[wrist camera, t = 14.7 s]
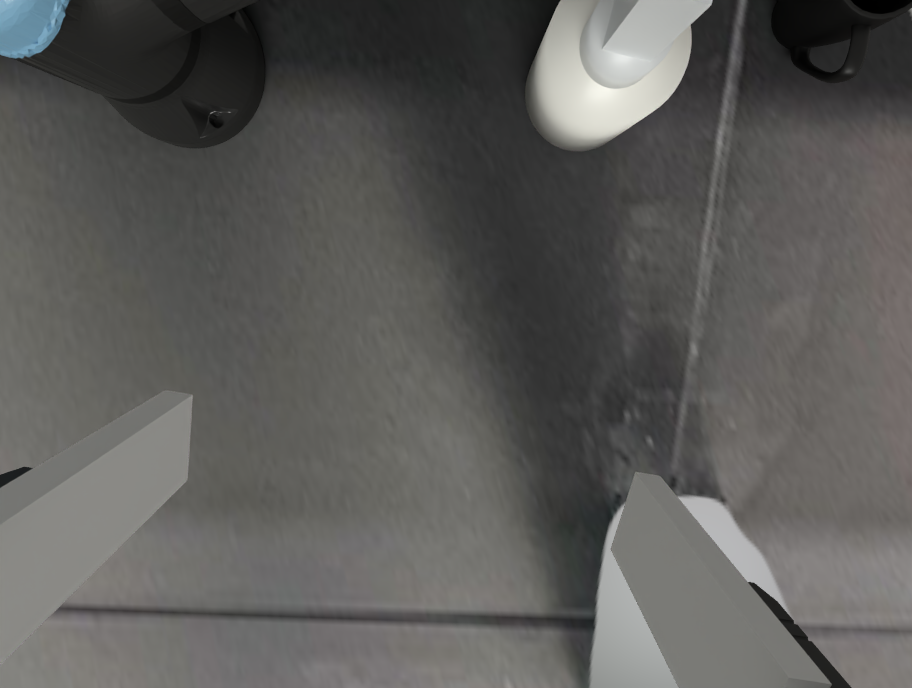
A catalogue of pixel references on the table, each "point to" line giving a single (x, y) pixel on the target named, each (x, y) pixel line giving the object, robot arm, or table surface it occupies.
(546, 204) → the table surface
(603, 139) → the bottle
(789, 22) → the mug
